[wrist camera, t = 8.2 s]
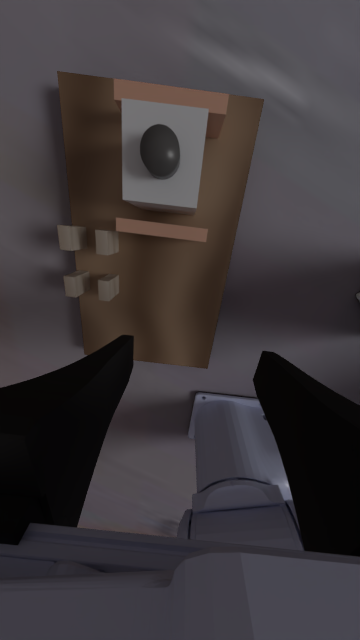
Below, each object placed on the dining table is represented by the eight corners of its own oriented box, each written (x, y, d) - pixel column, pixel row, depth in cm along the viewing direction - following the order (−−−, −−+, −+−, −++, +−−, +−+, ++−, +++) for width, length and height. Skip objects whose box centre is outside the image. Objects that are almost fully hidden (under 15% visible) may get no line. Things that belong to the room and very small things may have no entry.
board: (256, 112, 14) (281, 69, 10) (206, 360, 22) (209, 385, 19) (70, 87, 14) (27, 34, 10) (90, 346, 22) (71, 369, 19)
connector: (201, 150, 14) (211, 95, 8) (193, 215, 15) (197, 206, 10) (143, 142, 14) (114, 83, 8) (141, 209, 15) (116, 196, 10)
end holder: (220, 123, 13) (229, 94, 10) (202, 240, 16) (205, 242, 13) (129, 110, 13) (113, 78, 10) (128, 231, 16) (116, 231, 13)
